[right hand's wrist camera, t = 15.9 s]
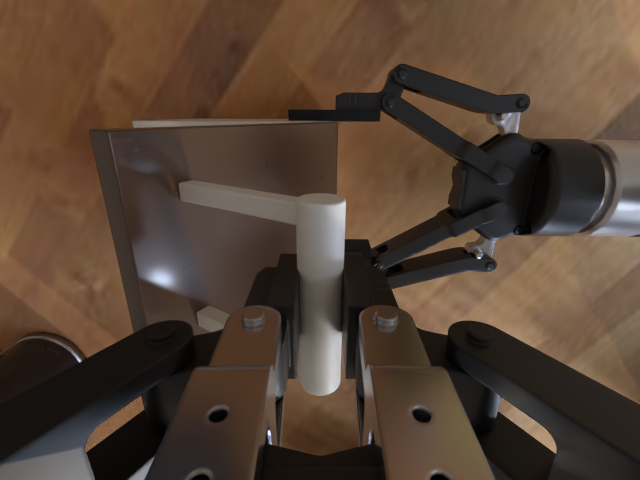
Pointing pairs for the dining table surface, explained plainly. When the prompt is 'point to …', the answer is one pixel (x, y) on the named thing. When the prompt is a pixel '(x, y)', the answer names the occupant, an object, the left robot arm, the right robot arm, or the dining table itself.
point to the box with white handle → (228, 225)
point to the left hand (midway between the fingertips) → (292, 186)
